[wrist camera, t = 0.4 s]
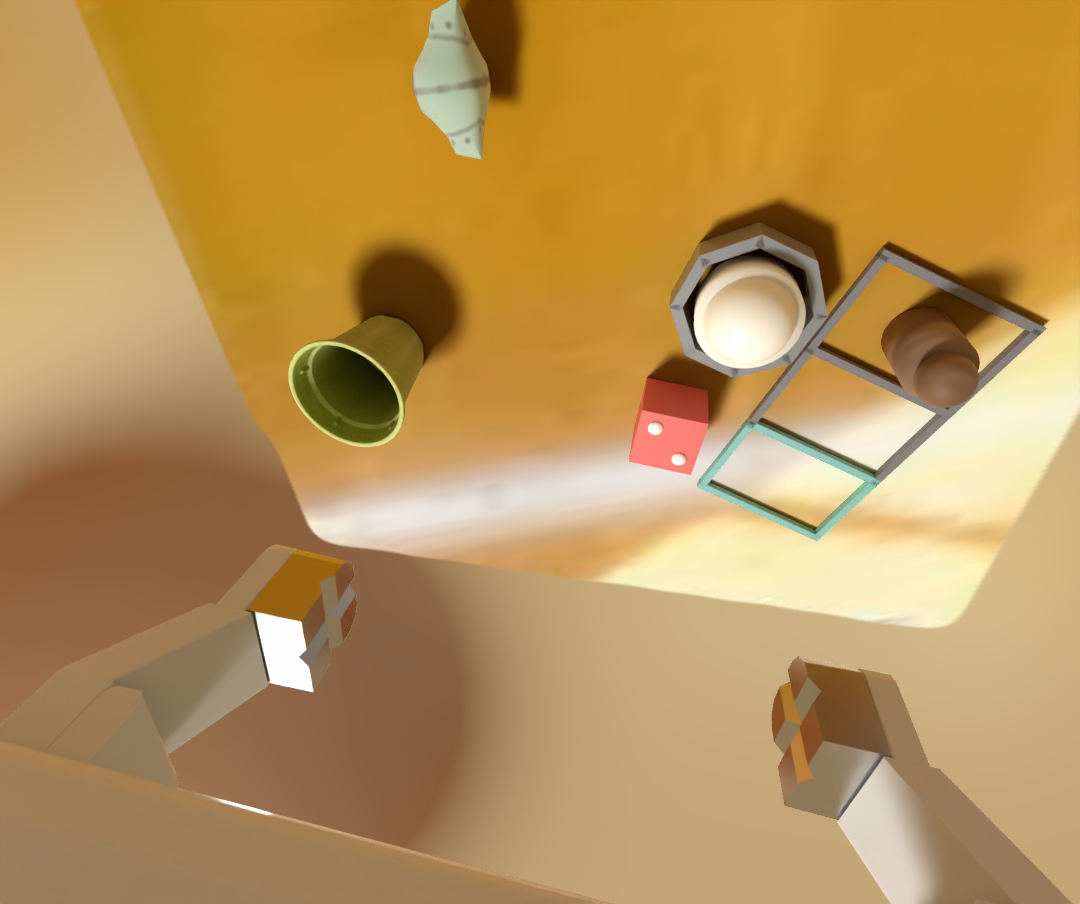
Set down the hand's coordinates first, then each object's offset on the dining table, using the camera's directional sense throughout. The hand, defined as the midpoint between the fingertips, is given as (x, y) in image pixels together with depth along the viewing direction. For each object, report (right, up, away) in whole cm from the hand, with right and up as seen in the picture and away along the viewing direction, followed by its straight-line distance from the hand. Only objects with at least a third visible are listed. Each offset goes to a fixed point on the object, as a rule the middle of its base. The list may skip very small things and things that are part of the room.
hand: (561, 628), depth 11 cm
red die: (+11, +7, +38) cm, 40 cm away
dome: (+14, +15, +32) cm, 38 cm away
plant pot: (-13, +13, +41) cm, 45 cm away
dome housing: (+14, +15, +32) cm, 38 cm away
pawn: (+26, +11, +31) cm, 42 cm away
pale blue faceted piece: (-5, +28, +27) cm, 39 cm away
